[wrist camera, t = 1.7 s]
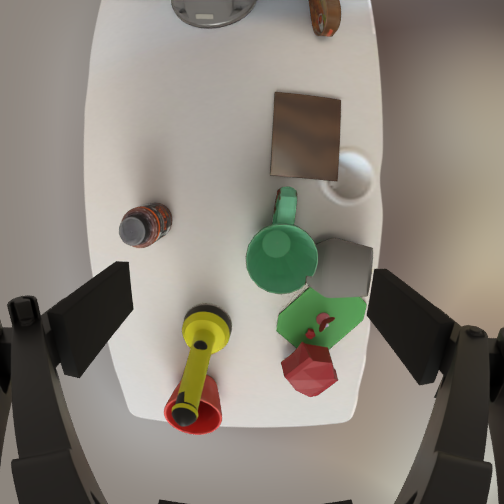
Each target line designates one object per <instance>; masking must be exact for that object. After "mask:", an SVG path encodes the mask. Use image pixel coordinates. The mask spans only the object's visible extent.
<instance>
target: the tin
mask: <svg viewBox="0 0 504 504" xmlns="http://www.w3.org/2000/svg"><path fill="white" fill-rule="evenodd" d="M308 1H309V7H310V13H311V20H312V26H313V30H314V33H315V34H316V35H317V36H333V35H334V34H335V32H336V31H337V29H338V28H339V25H340V21H341V6H340V1H339V0H308Z"/></svg>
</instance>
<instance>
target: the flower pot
mask: <svg viewBox="0 0 504 504" xmlns="http://www.w3.org/2000/svg"><path fill="white" fill-rule="evenodd" d="M181 381H182V380H181ZM181 381H180V383H179V384H178V386H177V387H176V389H175V390H174V392H173V393H172V395H171V397H170V399H169V400H168V402H167V404H166V406H165V408H164V416H165V418H166V420H167V421H168V423H169V424H170V425H172V426H173V427H174V428H176V429H178V430H180V431H182V432H185V433H189V434H195V435H201V434H207V433H210V432H213V431H214V430H216V429H217V428H218V427H219V426H220V424H221V422H222V412H221V405H220V399H219V393H218V388H217V384H216V382H215V381H214V380H213V379H212V378H211V377H210V376H208V375H206V377H205V382H204V386H203V390H202V394H201V398H200V403H199V407H198V418H197V420H196V421H195V422H194V423H193V424H191V425H189V426H185V427H182V426H180V425H178V424H177V423H176V422H175V420H174V419H173V417H172V407H173V406H174V405H175V403H176V399H177V396H178V392H179V388H180V385H181Z"/></svg>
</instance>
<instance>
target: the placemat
mask: <svg viewBox="0 0 504 504" xmlns="http://www.w3.org/2000/svg"><path fill="white" fill-rule="evenodd" d="M340 120H341V100H338V99H332V98H325V97H318V96H310V95H302V94H293V93H282V92H275V97H274V116H273V134H272V152H271V169H270V176H284V177H297V178H308V179H319V180H329V181H337V178H338V163H339V145H340Z"/></svg>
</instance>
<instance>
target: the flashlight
mask: <svg viewBox="0 0 504 504" xmlns="http://www.w3.org/2000/svg"><path fill="white" fill-rule="evenodd" d="M231 331H232V322H231V319H230V317H229V315H228V314H227V313H226V312H225V311H224V310H223V309H222V308H220V307H218V306H216V305H213V304H207V303H205V304H199V305H196V306H194V307H192V308H191V309H190V310H189V311H188V312H187V313H186V315H185V318H184V322H183V327H182V334H183V337H184V340H185V342H186V344H187V345H188V346H189V347H190V352H189V356H188V359H187V363H186V366H185V370H184V374H183V377H182V381H181V385H180V388H179V392H178V396H177V399H176V403H175V405H174V406H173V407H172V417H173V419H174V420H175V422H176V423H177V424H178V425H180V426H182V427H185V426H189V425H191V424H193V423H194V422H195V421H196V420H197V418H198V407H199V403H200V398H201V394H202V390H203V386H204V382H205V377H206V373H207V369H208V365H209V361H210V357H211V354H214V353H216V352H218V351H219V350H221V349H222V348H224V347H225V346H226V344H227V343H228V341H229V337H230V334H231Z"/></svg>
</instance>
